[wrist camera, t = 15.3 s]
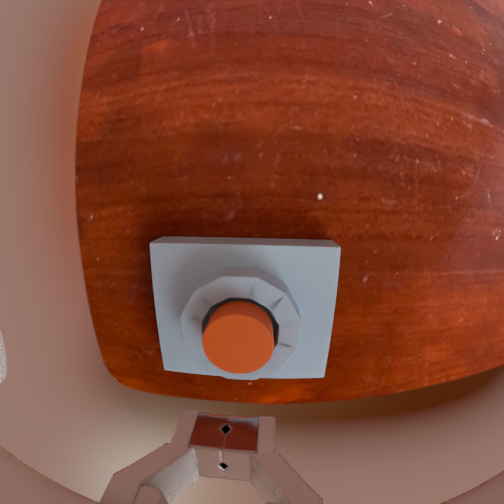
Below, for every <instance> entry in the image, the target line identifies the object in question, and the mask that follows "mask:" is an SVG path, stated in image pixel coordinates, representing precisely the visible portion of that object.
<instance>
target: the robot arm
mask: <svg viewBox="0 0 504 504" xmlns="http://www.w3.org/2000/svg"><path fill="white" fill-rule="evenodd" d="M199 476H202V477H211V478H222V479H232V480H243V481H251V483H252V485H253V486H254V488H255V489H256V491H257V492H258V494H259V495H260V497H261V498H262V500H263V501H264V502H265V504H323V499H322V498H321V497H320V496H319V495H318V494H317V493H316V492H315V491H314V490H313V489H312V488H311V487H310V486H309V485H308V484H307V483H306V482H305V481H304V480H303V479H302V477H300V475H299V474H298V473H297V472H296V471H295V470H294V469H293V468H292V467H291V466H290V465H289V463H288V462H287V461H286V460H285V459H284V458H283V457H282V456H281V455H280V454H275V417H255V416H253V417H252V416H233V415H220V414H211V413H204V412H195V411H189V410H184V412H183V413H182V415H181V418H180V420H179V423H178V426H177V428H176V431H175V434H174V436H173V439H172V442H171V444H170V443H166V444H164V445H163V446H161V447H159V448H158V449H156V450H154V451H153V452H151V453H149V454H148V455H146V456H145V457H143V458H141V459H139V460H138V461H136V462H134V463H132V464H131V465H129V466H127V467H125V468H124V469H122V470H120V471H118V472H116V473H114V474H113V476H112V478H111V480H110V482H109V484H108V486H107V488H106V490H105V492H104V494H103V496H102V498H101V500H100V502H96V501H94V500H91V499H89V498H87V497H85V496H83V495H81V494H78V493H76V492H74V491H72V490H70V489H68V488H66V487H64V486H63V485H61V484H59V483H57V482H55V481H53V480H52V479H50V478H48V477H46V476H44V475H43V474H41V473H40V472H38V471H36V470H35V469H33V468H32V467H30V466H28V465H27V464H25V463H24V462H22V461H21V460H19V459H18V458H17V457H15V456H14V455H12V454H11V453H10V452H8V451H7V450H6V449H4V448H3V447H2V446H0V504H170V503H171V502H172V501H173V500H175V499H176V498H177V497H178V496H179V495H180V494H182V493H183V492H184V491H185V490H186V489H187V488H189V487H190V486H191V485H192V484H193V483H194V482H195V481H196V480H197V479H199V478H200V477H199ZM441 504H504V471H503V472H501V473H499V474H498V475H496V476H494V477H493V478H491V479H489V480H488V481H486V482H484V483H482V484H480V485H479V486H477V487H475V488H473V489H471V490H469V491H467V492H465V493H463V494H461V495H459V496H457V497H455V498H452V499H450V500H448V501H446V502H443V503H441Z"/></svg>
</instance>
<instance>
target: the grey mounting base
mask: <svg viewBox="0 0 504 504" xmlns="http://www.w3.org/2000/svg"><path fill="white" fill-rule="evenodd" d="M340 253H341V247H340V246H339V245H337V244H336V243H335V242H334V241H332V240H312V239H275V238H229V237H161V238H159V239H157V240H155V241H153V242H151V243H150V257H151V270H152V282H153V292H154V302H155V310H156V318H157V326H158V333H159V340H160V347H161V353H162V359H163V365H164V370H168V371H176V372H184V373H193V374H203V375H215V376H222V377H224V378H226V379H243V380H256V379H259V378H323V377H324V374H325V368H326V363H327V357H328V351H329V345H330V338H331V332H332V325H333V318H334V310H335V302H336V294H337V285H338V275H339V264H340ZM231 301H247V302H251V303H254V304H256V305H258V306H259V307H261V308H262V309H263V310H264V311H265V312H266V313H267V314H268V315H269V317H270V319H271V321H272V324H273V334H274V350H273V354H272V356H271V358H270V359H269V361H268V362H267V363H266V364H265V365H264V366H263V367H261V368H260V369H258V370H256V371H253V372H250V373H245V374H236V373H230V372H227V371H224V370H222V369H220V368H218V367H217V366H215V365H214V364H213V363H212V362H211V361H210V360H209V359H208V358H207V356H206V354H205V352H204V349H203V345H202V338H203V334H204V331H205V328H206V326H207V324H208V321H209V319H210V317H211V315H212V313H213V312H214V311H215V310H216V309H217V308H218V307H219V306H221V305H223V304H225V303H227V302H231Z"/></svg>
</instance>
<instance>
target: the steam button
mask: <svg viewBox="0 0 504 504" xmlns="http://www.w3.org/2000/svg"><path fill="white" fill-rule="evenodd" d="M202 345H203V349H204V352H205V354H206V356H207V358H208V359H209V360H210V361H211V362H212V363H213V364H214V365H215V366H217V367H218V368H220V369H222V370H224V371H227V372H230V373H236V374H245V373H250V372H253V371H256V370H258V369H260V368H261V367H263V366H264V365H265V364H266V363H267V362H268V361H269V359H270V358H271V356H272V354H273V350H274V334H273V324H272V321H271V319H270V317H269V315H268V314H267V313H266V312H265V311H264V310H263V309H262V308H261V307H259V306H258V305H256V304H254V303H251V302H247V301H231V302H227V303H225V304H223V305H221V306H219V307H218V308H217V309H216V310H215V311H214V312H213V313H212V315H211V317H210V319H209V321H208V324H207V326H206V328H205V331H204V334H203V338H202Z"/></svg>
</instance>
